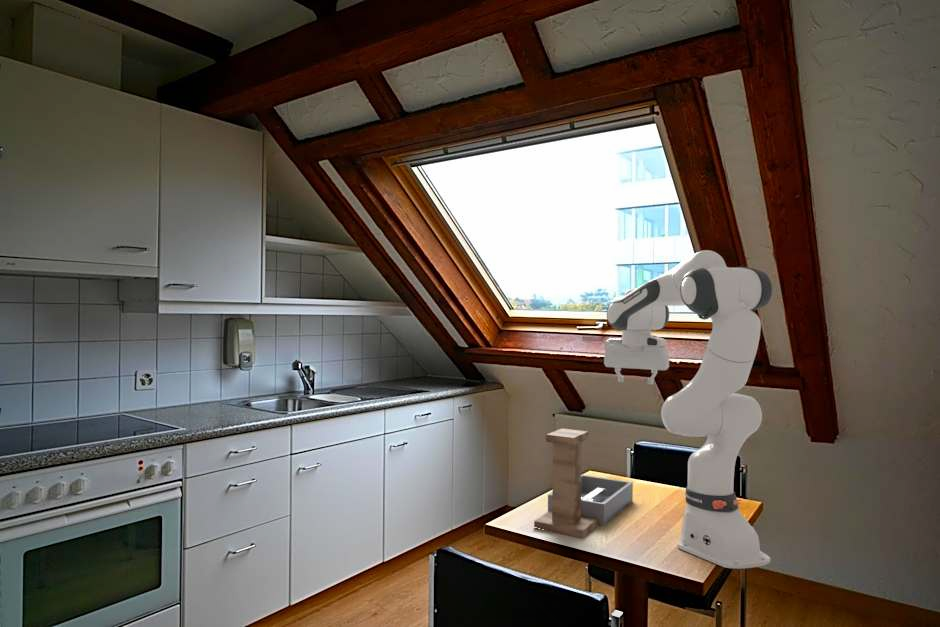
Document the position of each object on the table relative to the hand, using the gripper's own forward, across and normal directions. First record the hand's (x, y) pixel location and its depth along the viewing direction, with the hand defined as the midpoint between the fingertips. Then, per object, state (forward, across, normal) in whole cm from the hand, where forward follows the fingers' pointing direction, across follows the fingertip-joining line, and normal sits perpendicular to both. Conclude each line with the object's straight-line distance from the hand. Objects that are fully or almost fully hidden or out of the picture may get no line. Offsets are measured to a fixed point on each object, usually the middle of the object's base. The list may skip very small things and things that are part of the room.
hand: (635, 382), depth 202 cm
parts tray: (+37, -8, -16) cm, 41 cm away
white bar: (+36, -8, -15) cm, 40 cm away
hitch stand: (+37, -8, -36) cm, 52 cm away
